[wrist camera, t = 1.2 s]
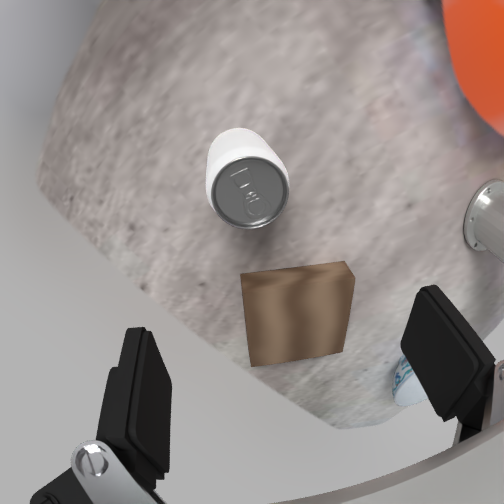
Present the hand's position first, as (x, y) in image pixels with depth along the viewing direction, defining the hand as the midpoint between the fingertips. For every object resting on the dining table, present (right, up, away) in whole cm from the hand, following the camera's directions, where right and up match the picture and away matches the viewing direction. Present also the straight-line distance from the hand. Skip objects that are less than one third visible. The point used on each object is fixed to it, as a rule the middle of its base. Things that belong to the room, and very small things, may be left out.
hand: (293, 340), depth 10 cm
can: (-3, +13, +22) cm, 26 cm away
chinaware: (+32, -18, +46) cm, 58 cm away
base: (+5, -5, +34) cm, 35 cm away
